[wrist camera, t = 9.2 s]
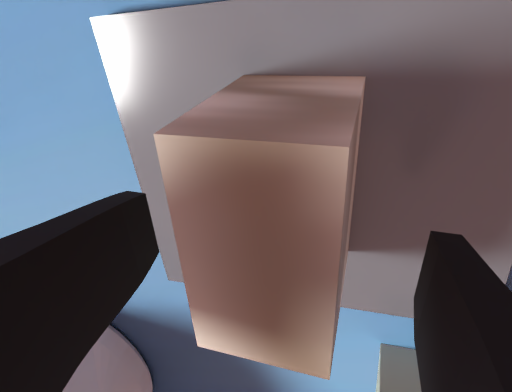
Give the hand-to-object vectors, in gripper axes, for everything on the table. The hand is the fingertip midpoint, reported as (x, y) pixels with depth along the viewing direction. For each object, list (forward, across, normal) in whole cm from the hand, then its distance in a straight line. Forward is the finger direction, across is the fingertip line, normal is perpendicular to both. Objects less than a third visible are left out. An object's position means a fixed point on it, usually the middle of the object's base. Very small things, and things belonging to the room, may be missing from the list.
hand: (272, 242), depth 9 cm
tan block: (+3, 0, 0) cm, 3 cm away
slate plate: (+4, 0, 0) cm, 4 cm away
